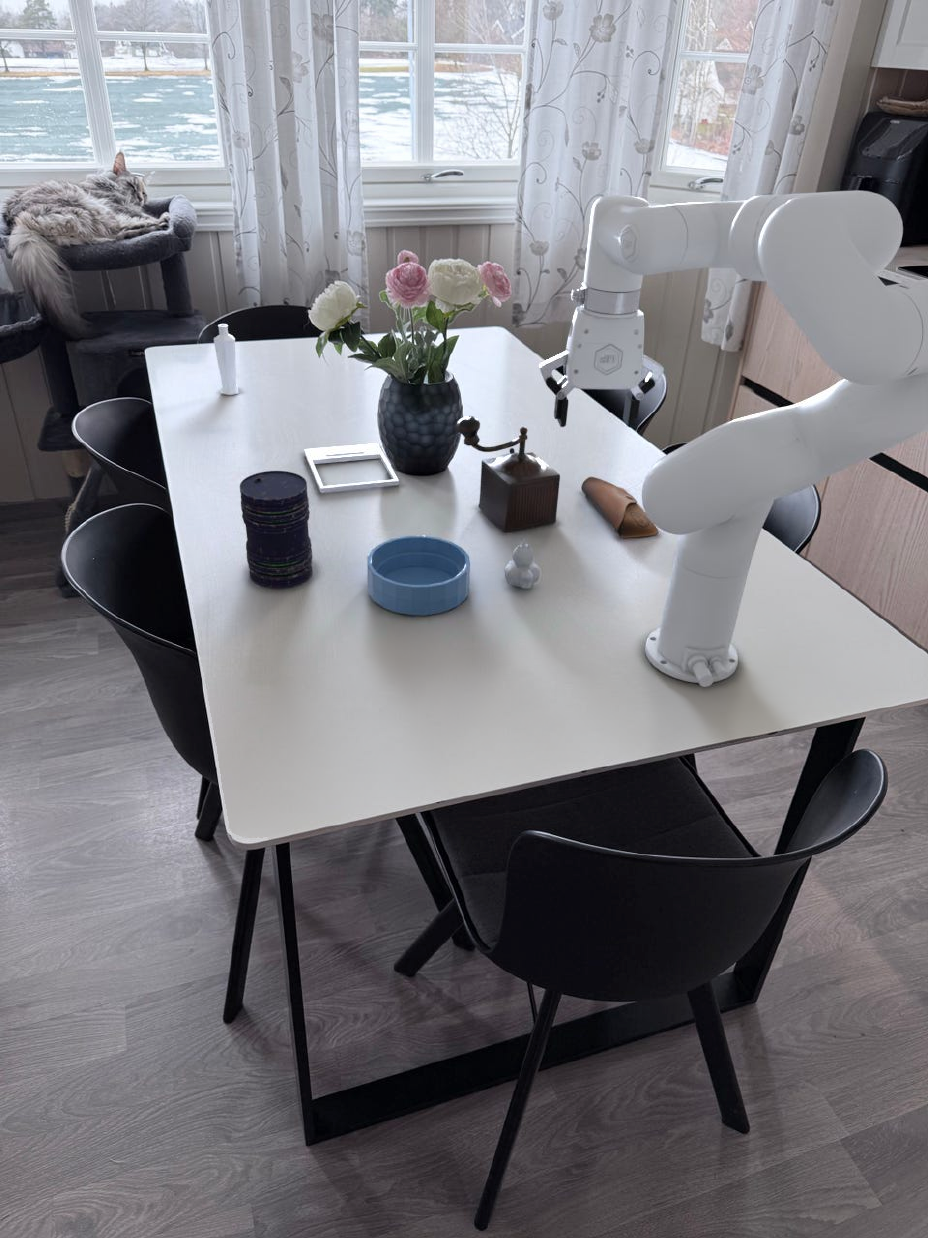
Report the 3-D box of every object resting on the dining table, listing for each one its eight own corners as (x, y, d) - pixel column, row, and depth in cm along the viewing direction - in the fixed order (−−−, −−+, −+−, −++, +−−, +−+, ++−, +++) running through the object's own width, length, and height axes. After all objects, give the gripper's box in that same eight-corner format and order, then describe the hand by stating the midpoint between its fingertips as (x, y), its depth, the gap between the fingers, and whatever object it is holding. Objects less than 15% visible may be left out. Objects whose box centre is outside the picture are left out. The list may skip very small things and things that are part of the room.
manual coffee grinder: (526, 497, 163) (534, 402, 153) (557, 523, 155) (567, 425, 145) (449, 511, 158) (453, 413, 148) (477, 539, 149) (482, 438, 139)
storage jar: (326, 568, 140) (321, 481, 131) (285, 596, 132) (277, 506, 124) (277, 550, 144) (269, 464, 135) (235, 576, 136) (224, 488, 128)
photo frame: (376, 442, 179) (399, 479, 165) (377, 447, 179) (399, 485, 165) (304, 448, 175) (320, 487, 161) (304, 453, 175) (320, 492, 161)
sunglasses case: (663, 532, 153) (649, 504, 149) (627, 554, 153) (613, 526, 149) (621, 487, 167) (608, 460, 163) (589, 507, 168) (575, 481, 164)
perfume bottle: (217, 389, 203) (209, 323, 195) (236, 387, 205) (229, 321, 196) (222, 396, 200) (214, 329, 191) (241, 394, 201) (234, 327, 193)
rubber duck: (532, 573, 141) (536, 529, 136) (544, 595, 135) (549, 550, 131) (498, 576, 140) (502, 531, 135) (510, 599, 134) (514, 553, 130)
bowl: (472, 616, 130) (474, 586, 127) (368, 618, 129) (367, 587, 126) (463, 563, 142) (464, 535, 140) (368, 564, 141) (367, 535, 138)
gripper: (550, 306, 113) (538, 433, 123) (682, 308, 115) (660, 434, 124) (540, 291, 119) (530, 413, 129) (666, 293, 121) (647, 414, 131)
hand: (594, 423), depth 127 cm, fingers open, 9 cm apart
